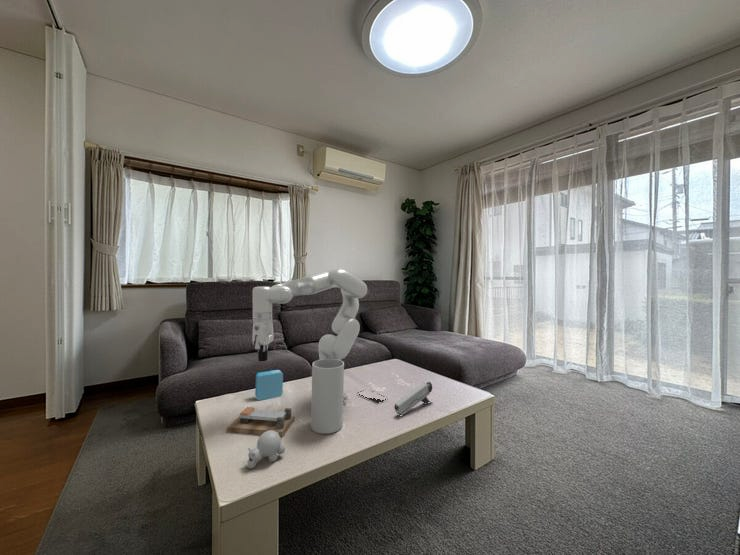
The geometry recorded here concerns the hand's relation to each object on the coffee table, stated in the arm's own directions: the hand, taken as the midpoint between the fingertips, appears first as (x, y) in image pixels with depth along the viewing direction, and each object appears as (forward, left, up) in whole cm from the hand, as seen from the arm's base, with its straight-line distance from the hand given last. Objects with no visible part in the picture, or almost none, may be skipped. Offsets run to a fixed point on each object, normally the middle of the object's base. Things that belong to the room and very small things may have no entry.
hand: (262, 360), depth 115 cm
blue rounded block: (+7, -21, -24) cm, 33 cm away
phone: (-43, -29, -25) cm, 57 cm away
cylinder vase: (-28, +1, -24) cm, 37 cm away
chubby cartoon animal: (-14, +25, -25) cm, 37 cm away
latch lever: (-4, +5, -20) cm, 21 cm away
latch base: (-3, +5, -24) cm, 25 cm away
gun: (-64, -19, -25) cm, 71 cm away
